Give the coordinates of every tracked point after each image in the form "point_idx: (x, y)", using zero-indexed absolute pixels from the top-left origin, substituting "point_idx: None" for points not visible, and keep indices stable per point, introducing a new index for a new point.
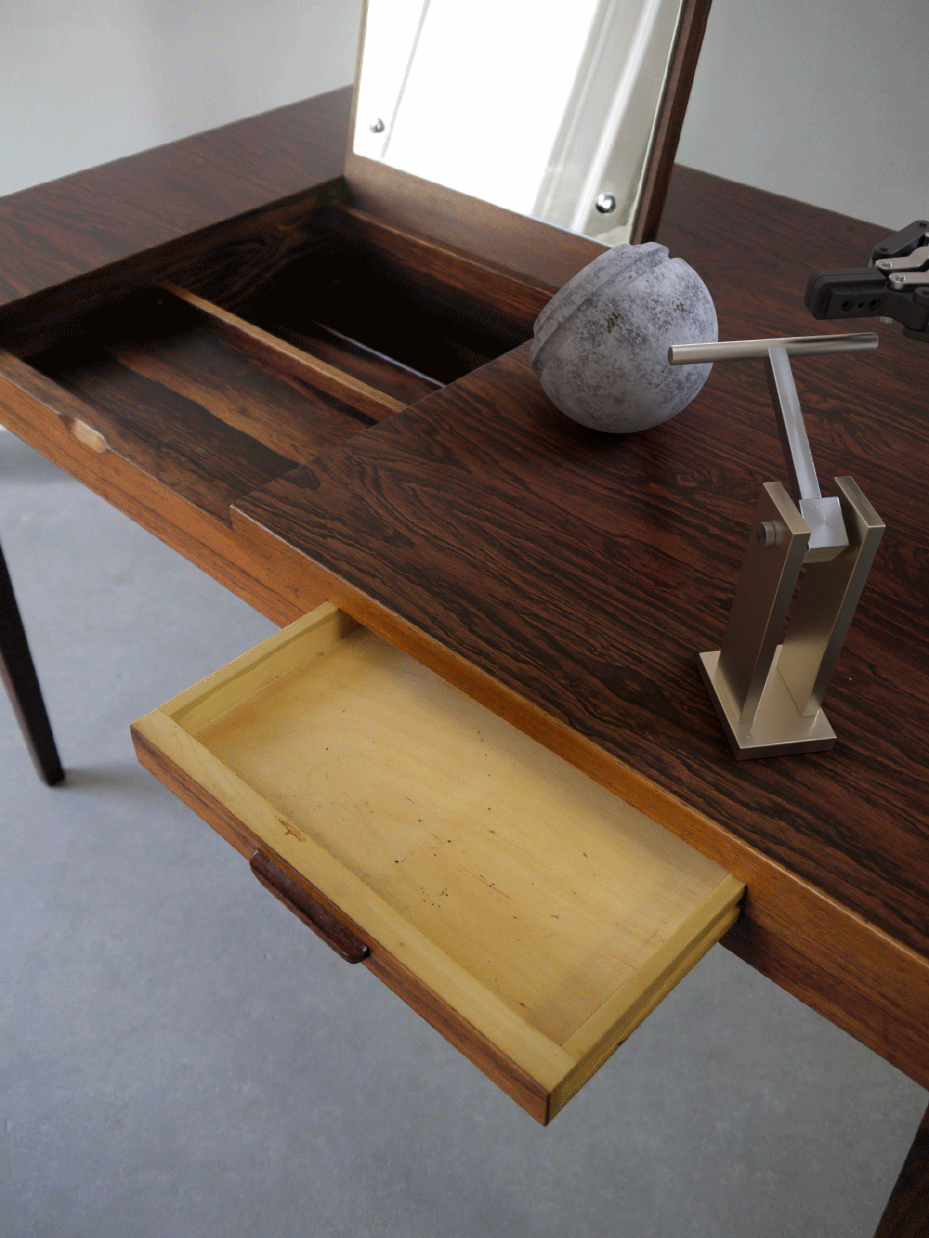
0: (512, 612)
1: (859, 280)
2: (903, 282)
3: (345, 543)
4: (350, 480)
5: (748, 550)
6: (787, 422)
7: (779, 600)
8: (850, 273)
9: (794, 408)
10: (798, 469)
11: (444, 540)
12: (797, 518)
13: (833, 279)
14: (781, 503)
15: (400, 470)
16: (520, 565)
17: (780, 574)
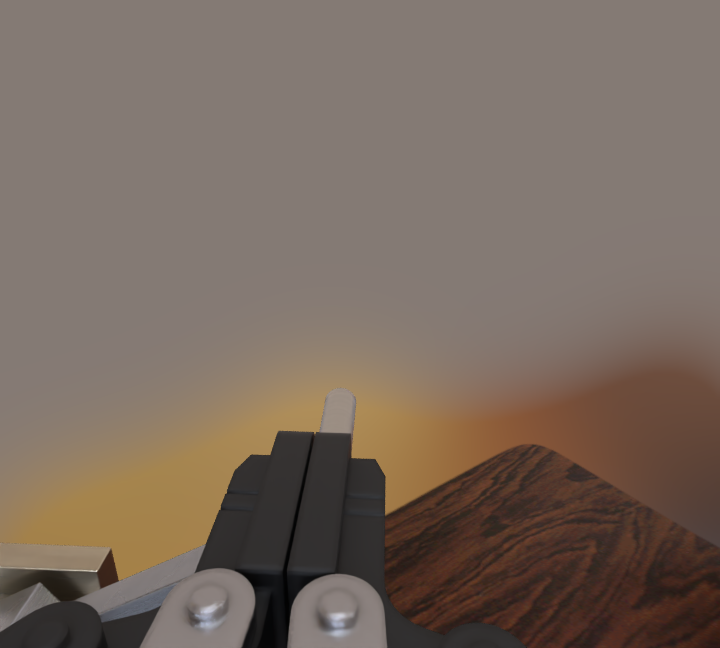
0: None
1: (260, 496)
2: (169, 596)
3: (485, 490)
4: (588, 502)
5: None
6: (169, 562)
7: None
8: (307, 488)
9: (185, 570)
10: (93, 594)
11: (493, 562)
12: (2, 558)
13: (288, 445)
14: (49, 551)
15: (618, 542)
16: (448, 626)
17: None
